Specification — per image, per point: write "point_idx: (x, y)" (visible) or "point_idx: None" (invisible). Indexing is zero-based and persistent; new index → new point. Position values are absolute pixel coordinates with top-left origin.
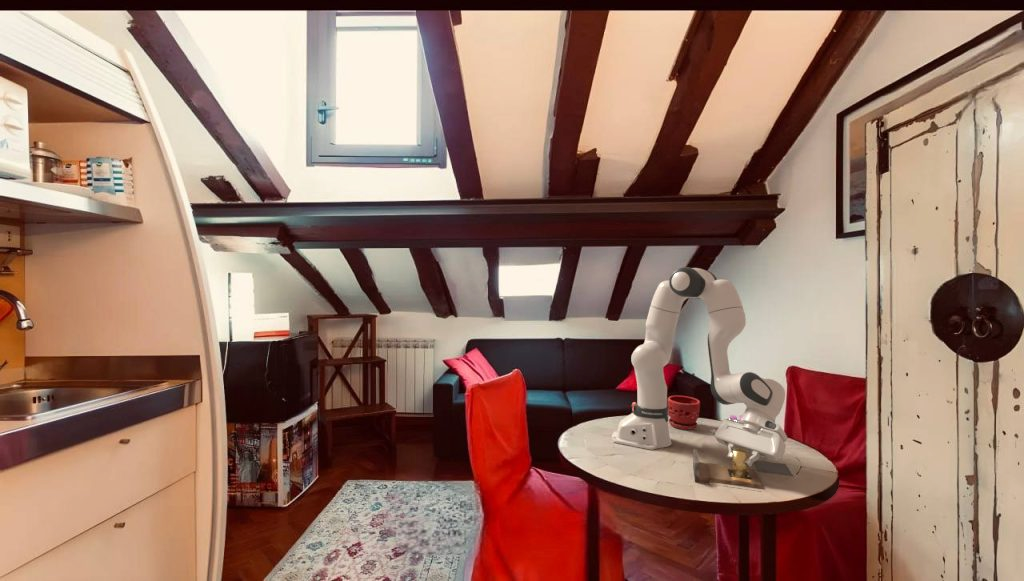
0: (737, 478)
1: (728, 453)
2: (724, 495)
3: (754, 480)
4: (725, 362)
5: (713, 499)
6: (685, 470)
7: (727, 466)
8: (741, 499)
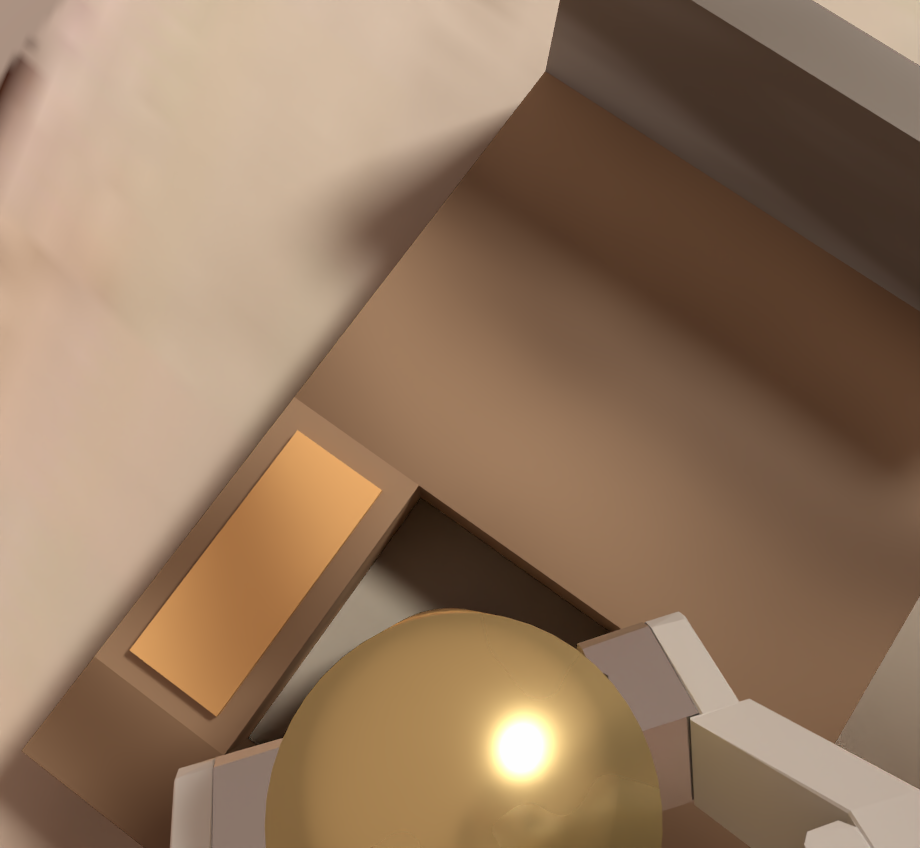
0: (308, 534)
1: (710, 658)
2: (160, 184)
3: None
4: None
5: (125, 3)
6: None
7: None
8: (8, 305)
